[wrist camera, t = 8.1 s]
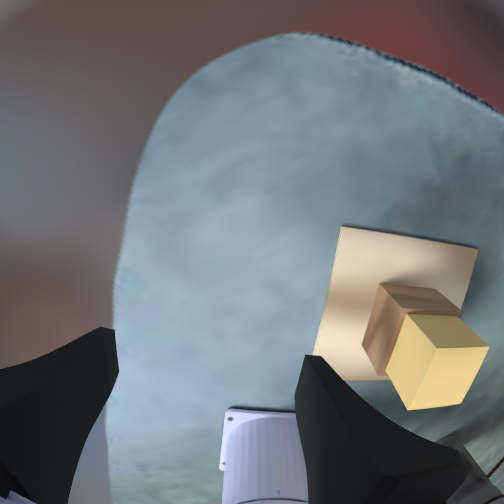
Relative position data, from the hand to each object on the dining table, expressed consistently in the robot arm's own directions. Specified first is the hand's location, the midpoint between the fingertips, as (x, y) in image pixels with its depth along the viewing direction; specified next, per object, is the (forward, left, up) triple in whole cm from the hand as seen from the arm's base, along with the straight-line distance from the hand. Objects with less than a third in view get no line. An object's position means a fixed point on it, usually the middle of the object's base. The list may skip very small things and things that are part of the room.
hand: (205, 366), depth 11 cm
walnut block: (-2, -13, -10) cm, 17 cm away
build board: (-2, -13, -10) cm, 17 cm away
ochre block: (-2, -13, -6) cm, 14 cm away
